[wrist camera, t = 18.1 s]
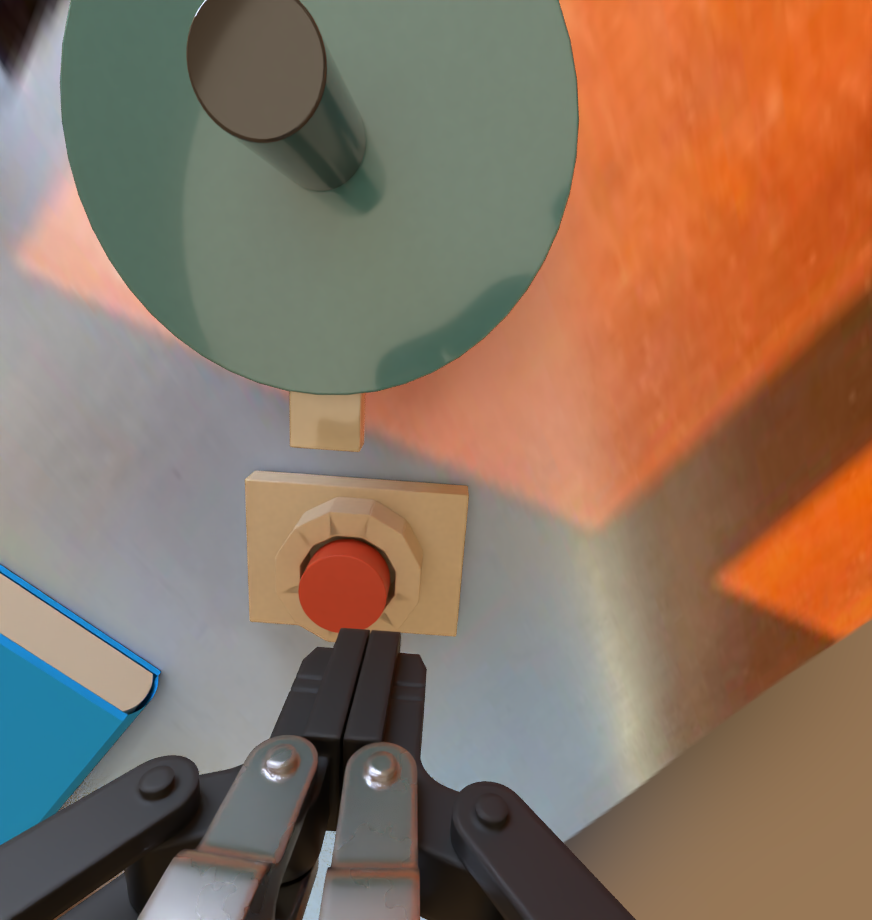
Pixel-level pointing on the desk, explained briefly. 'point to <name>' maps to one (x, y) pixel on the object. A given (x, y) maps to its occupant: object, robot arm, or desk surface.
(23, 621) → the book
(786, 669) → the desk surface
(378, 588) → the button
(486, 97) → the lid
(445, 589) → the button box
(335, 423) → the pot
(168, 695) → the desk surface
